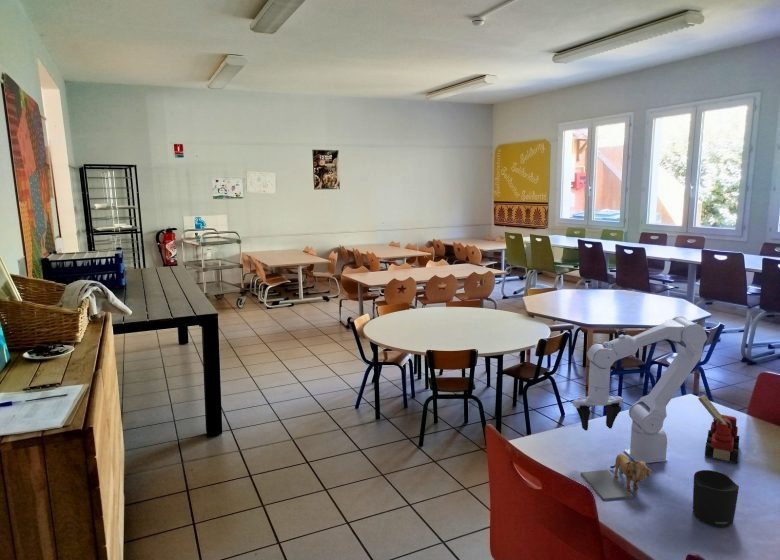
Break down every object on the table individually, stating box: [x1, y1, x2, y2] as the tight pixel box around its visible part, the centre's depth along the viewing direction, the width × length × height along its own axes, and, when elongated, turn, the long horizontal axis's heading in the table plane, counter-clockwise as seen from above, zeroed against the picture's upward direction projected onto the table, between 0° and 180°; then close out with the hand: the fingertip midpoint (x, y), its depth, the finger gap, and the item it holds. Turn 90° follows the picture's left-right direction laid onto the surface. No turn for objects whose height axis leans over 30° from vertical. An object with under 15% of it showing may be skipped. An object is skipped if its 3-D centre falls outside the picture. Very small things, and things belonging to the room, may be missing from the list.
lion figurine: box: [609, 453, 653, 492], centre depth 148 cm, size 15×5×9 cm, turn 13°
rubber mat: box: [580, 469, 633, 501], centre depth 147 cm, size 8×13×1 cm, turn 7°
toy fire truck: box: [697, 394, 740, 464], centre depth 163 cm, size 11×16×18 cm
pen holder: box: [692, 469, 740, 528], centre depth 132 cm, size 9×9×10 cm
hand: (596, 428), depth 161 cm, fingers open, 7 cm apart
